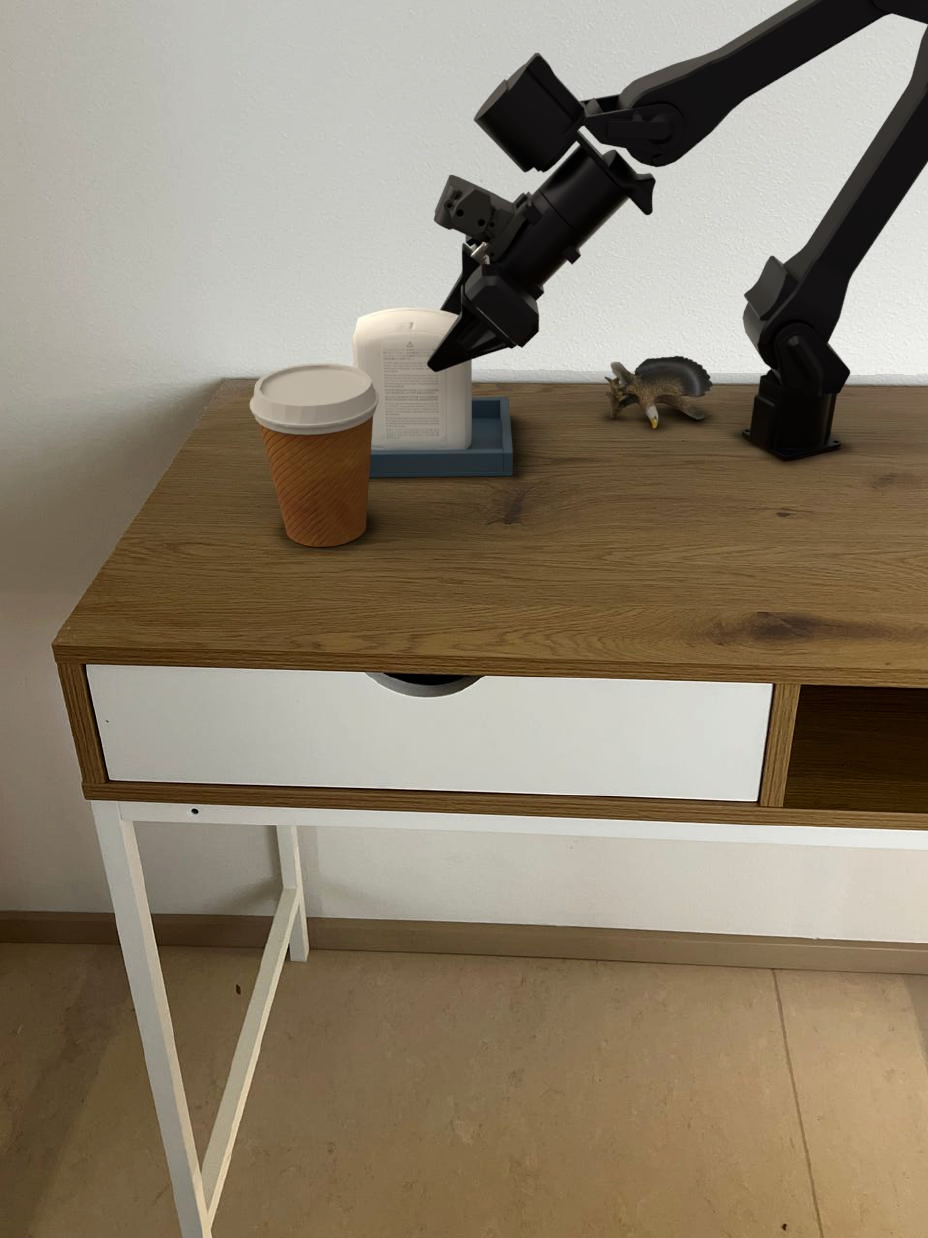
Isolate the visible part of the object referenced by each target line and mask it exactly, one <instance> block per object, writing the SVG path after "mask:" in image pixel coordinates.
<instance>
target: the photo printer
mask: <svg viewBox="0 0 928 1238" xmlns="http://www.w3.org/2000/svg"><path fill="white" fill-rule="evenodd" d="M458 316H459V315H456V314H453V313H450V312H446V311H441V310H440V309H436V308H429V307H412V306H410V307H409V306H408V307H407V306H406V307H393V308H388V309H383V310H378V311H375V312H374V311H373V312H371V313H368V314H364V315H362V316H360V317H358V318H357V321H356V325H355V330H354V333H353V336H352V342H351V343H352V344H351V345H352V361H353V367H354V368H357V369H360V370H362V371H364V372H365V373H367V374H368V375H369V376H370V378H371V381H372V384H373V387H374V389H375V390H376V391H377V393H378V394H379V402H378V405H377V407H376V411H375V413H374V415H373V429H372V443H371V450H372V451H379V450H460V449H468V448H469V447H470V445H471V429H472V397H473V396H472V395H473V394H472V392H473V390H472V389H473V388H472V386H473V383H472V381H473V377H472V376H473V369H472V368H473V367H472V366H473V364H472V362H473V361H472V360H473V359H472V360H469V361H466V362H464V363H461V364H458V365H455V366H453V367H450V368H447V369H445V370H442V371H439V372H434V371H433V370H431V369H430V368H429V367H428V366H427V361H428V360H429V358H430V357H431V355H432V354H433V352H434V351H435V349H436V348H437V346H438V345H439V343H440V342H441V341H442V339H443V338H444V336H445V335H446V333H447V332H448V330H449V329H450V328H451V326H452V325H453V323H454V322H455V320H456V319H457V318H458Z"/></svg>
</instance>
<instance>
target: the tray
mask: <svg viewBox="0 0 928 1238" xmlns="http://www.w3.org/2000/svg"><path fill="white" fill-rule="evenodd" d="M511 422H512V421H511V411H510V399H509V396H475V397H473V396H472V429H471V445H470V447H469V448H468V449H460V450H379V451H372V450H371V458H370V471H369V479H371V478H373V479H374V478H441V477H442V478H443V477H444V478H446V477H448V478H449V477H450V478H451V477H452V478H453V477H454V478H455V477H513V475H514V449H513V435H512V425H511V424H512V423H511Z"/></svg>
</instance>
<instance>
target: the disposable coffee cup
mask: <svg viewBox="0 0 928 1238" xmlns="http://www.w3.org/2000/svg"><path fill="white" fill-rule="evenodd" d="M378 402H379V394H378V393H377V391H376V390H375V389H374V387H373V384H372V381H371V378H370V376H369V375H368V374H367V373H365V372H364V371H362V370H360V369H357V368H354V366H350V365H345V364H339V363H327V362H325V363H324V362H323V363H321V362H320V363H317V362H316V363H305V364H297V365H292V366H286V367H282V368H280V369H276V370H273V371H271V372H269V373H266V374H265V375H263V376H261V377H260V378H259V379H258V380H257V381H256V382H255V384H254V389H253V396H252V397H251V398H250V401H249V409H250V411H251V413H252V415H253V416H254V418H255V420H256V422H258V424H259V429H260V432H261V436H262V440H263V445H264V448H265V453H266V456H267V460H268V461H267V462H268V463H269V468H270V473H271V475H272V480H273V483H274V488H275V491H276V496H277V500H278V504H279V507H280V512H281V516H282V519H283V523H284V528H285V533H286V535H287V536H288V538H289V539H290V540H292V541H293V542H295V543H298V544H300V545H304V546H309V547H317V548H324V547H336V546H339V545H340V546H341V545H345V544H347V543H351V542H352V541H354V540H356V539H358V538H359V537H361V536H362V535H363V533H365V531H366V528H367V516H368V515H367V514H368V502H369V501H368V498H369V487H370V486H369V485H370V478H369V471H370V458H371V443H372V429H373V415H374V413H375V411H376V407H377V405H378Z"/></svg>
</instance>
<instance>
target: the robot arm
mask: <svg viewBox="0 0 928 1238" xmlns="http://www.w3.org/2000/svg"><path fill="white" fill-rule="evenodd" d="M890 15H895V16H898V17H902V18H904V19H908V20H912V21H914V22H919V23H921V24H925V25H927V26H926V27H925V30H924V32H923V35H922V37H921V40H920V44H919V47H918V51H917V55H916V58H915V63H914V66H913V70H912V74H911V77H910V79H909V82H908V83H907V86H906V88H905V89H904V91H903V92H902V94H901V95H900V97H899V99H897V102H896V103H895V104H894V106H893V108H892V109H891V111H890V113H889V114H888V116H887V117H886V119H885V120H884V122H883V123H882V125H881V126H880V128H879V130H878V131H877V133H876V134H875V136H874V137H873V139H872V140H871V143H870V144H869V146H867V149H866V150H865V152H864V153H863V155H862V156H861V158H860V160H859V161H858V163H857V164H856V165H855V167H854V169H853V170H852V172H851V174H850V175H849V177H848V178H847V179H846V181H845V183H844V185H843V186H842V187H841V189H840V191H839V192H838V194H837V195H836V197H835V199H834V200H833V202H832V203H831V205H830V206H829V208H828V209H827V210H826V212H825V214H824V215H823V217H822V218H821V220H820V222H819V223H818V225H817V226H816V228H815V230H813V233H812V234H811V235H810V237H809V239H808V241H807V242H806V243H805V245H804V246H803V247H802V248H801V249H800V250H799V251H798V252H796V253H795V254H794V255H792V256H791V257H790V258H789V259H788V260H786V261H785V262H784V263H783V262H782V261H781V260H779V259H778V258H777V257H776V256H775V255H770V256H769V257H768V259H767V260H766V261H765V263H764V266H763V269H762V271H761V273H760V275H759V277H758V279H757V281H756V282H755V284H754V285H753V286H751V288H750V289H748V290H747V291H746V292H745V293H743V297H744V298H745V300H746V302H747V303H746V306H745V307H744V310H743V312H742V313H743V314H742V324H743V328H744V333H745V334H746V336H747V337H748V339H749V341H750V342H751V344H752V345H753V347H754V349H755V351H756V352H757V353H758V355H759V356H760V358H761V360H762V361H763V363H764V364H765V365H766V366H768V367H769V368H770V369H769V370H767V372H766V374H762V375H760V377H759V383H758V391H757V393H755V395H754V398H753V405H752V412H751V413H752V414H751V420H750V427H748V428H747V427H746V428H743V429H742V430H741V433H740V436H742V437H743V438H745V439H746V440H748V441H750V442H751V443H753V444H755V445H756V446H758V447H760V448H762V449H763V450H765V451H766V452H768V453H770V454H772V455H774V456H775V457H777V458H779V459H780V460H783V461H790V460H795V459H798V458H803V457H807V456H811V455H816V454H821V453H825V452H828V451H832V450H837V449H840V448H842V444H843V442H842V441H841V440H840V439H838V438H836V437H834V436H832V435H831V433H832V428H833V420H834V416H835V410H836V403H837V397H838V394H841V391H842V390H843V388H844V386H845V384H846V383H847V381H848V379H849V377H850V376H851V370H850V368H849V366H848V365H846V363H845V362H844V361H843V359H842V358H841V357H840V356H839V354H838V353H837V352H836V350H835V349H834V348H833V346H832V345H831V344H830V343H829V342H830V340H831V338H832V335H833V333H834V331H835V329H836V327H837V324H838V323H839V320H840V318H841V316H842V311H843V307H844V303H845V299H846V295H847V293H848V288H849V284H850V282H851V279H852V276H853V275H854V273H855V271H856V270H857V269H858V267H859V266H860V264H861V263H862V261H863V260H864V258H865V257H866V255H867V254H868V252H869V251H870V249H871V248H872V246H873V245H874V243H875V242H876V240H877V239H878V237H879V236H880V234H881V233H882V232H883V230H884V228H885V227H886V225H887V224H888V222H889V221H890V219H891V218H892V216H893V215H894V213H895V212H896V210H897V209H898V207H899V206H900V204H901V203H902V202H903V200H904V198H905V197H906V195H907V194H908V193H909V191H910V190H911V188H912V186H913V185H914V183H915V182H916V181H917V179H918V178H919V176H920V175H921V173H922V171H923V170H924V168H926V166H927V164H928V0H796V1H793V2H792V3H790V4H789V5H787V6H786V7H784V8H783V9H781V10H780V11H778V12H776V13H775V14H772V15H771V16H770V17H768V18H766V19H765V20H763V21H761V22H760V23H758V24H757V25H754V26H753V27H752V28H750V29H749V30H747V31H745V32H744V33H742V34H740V35H738V36H737V37H735V38H734V39H732V40H731V41H729V42H727V43H726V44H724V45H722V46H721V47H719V48H717V49H714V50H712V51H710V52H707V53H705V54H702V55H699V56H696V57H692V58H689V59H686V60H683V61H679V62H675V63H673V64H669V65H667V66H665V67H663V68H660V69H658V70H655V71H653V72H651V73H648V74H646V75H643V76H641V77H638V78H637V79H634V80H632V82H630V83H629V84H628V85H627V86H626V87H624V88H623V90H622V91H621V93H618V94H611V95H606V96H605V95H604V96H600V97H592V98H588V99H583V100H579V99H578V98H577V96H575V94H574V93H573V92H571V90H570V89H569V88H568V87H567V86H566V84H564V82H563V81H562V80H560V78H559V77H558V76H557V75H556V73H555V72H554V70H553V69H552V67H551V65H550V64H549V62H548V61H547V59H545V57H543V55H542V54H541V53H540V52H534V54H533V55H532V56H531V57H530V58H529V59H528V60H527V61H526V63H524V64H522V65H521V66H520V67H519V68H517V70H516V71H515V72H513V73H512V74H511V75H510V77H509V78H507V79H506V78H503V80H502V81H501V82H500V83H499V84H498V86H496V87H495V89H494V90H493V91H492V92H491V94H490V95H489V96H488V97H487V98H486V100H485V101H484V103H482V105H481V106H480V108H479V109H478V110H477V112H476V114H475V115H474V117H473V122H475V123H476V125H477V126H478V127H479V128H480V129H481V130H482V131H483V132H484V133H485V134H486V135H487V136H488V137H489V138H490V139H491V140H492V141H493V142H494V143H495V144H496V146H498V147H499V149H500V150H501V151H503V153H504V154H505V155H506V156H507V157H509V159H510V160H511V161H512V162H513V163H514V164H515V166H517V167H518V168H519V169H520V170H521V171H522V172H523V173H524V174H525V173H528V172H530V171H531V170H533V169H535V171H537V173H539V172H541V173H542V174H544V173H547V172H548V171H550V170H551V169H552V168H553V167H554V166H556V165H557V164H558V162H559V161H560V160H561V159H562V158H563V157H564V156H565V155H566V154H567V152H568V151H569V150H570V149H571V147H573V146H574V145H575V144H576V142H577V143H578V145H577V147H575V148H574V150H573V151H571V153H570V154H569V156H567V157H566V158H565V159H564V160H563V162H562V163H560V165H559V166H558V167H556V168H555V170H554V171H553V172H552V173H551V174H550V175H549V176H548V178H546V180H544V182H542V184H540V186H539V187H538V188H537V189H536V190H535V191H534V192H533V193H531V192H530V191H527V193H525V192H521V193H520V194H519V196H518V197H516V199H515V200H514V201H513V202H512V201H510V200H507V199H505V198H503V197H501V196H500V195H498V194H496V193H494V192H493V191H491V190H488V189H486V188H484V187H482V186H480V185H478V184H475V183H473V182H471V181H468V180H467V179H464V178H463V177H460V176H457V175H454V174H449V175H448V177H447V180H446V182H445V185H444V187H443V190H442V192H441V195H440V197H439V199H438V203H437V204H436V206H435V209H434V217H433V221H434V222H435V224H437V225H438V226H440V227H441V228H444V229H446V230H448V231H452V230H454V231H457V232H459V233H460V234H464V235H465V237H464V238H465V242H462V244H461V272H460V274H459V276H458V278H457V279H456V281H455V282H454V285H453V287H452V288H451V290H450V292H449V293H448V295H447V297H446V298H445V300H444V301H443V303H442V305H441V307H440V308H439V310H441V311H446V312H450V313H453V314H456V315H459V316H458V318H457V319H456V320H455V322H454V323H453V325H452V326H451V328H450V329H449V330H448V332H447V333H446V335H445V336H444V338H443V339H442V341H441V342H440V343H439V345H438V346H437V348H436V349H435V351H434V352H433V354H432V355H431V357H430V358H429V360H428V361H427V366H428V367H429V368H430V369H431V370H433V371H434V372H439V371H442V370H445V369H447V368H450V367H453V366H455V365H458V364H461V363H464V362H466V361H469V360H474V359H477V358H480V357H483V356H486V355H489V354H493V353H496V352H498V351H502V350H505V349H510V350H511V349H514V348H516V347H520V348H521V349H523V348H524V347H525V346H526V345H528V343H529V342H530V341H531V340H532V339H533V338H534V337H535V336H536V335H537V334H538V333H539V332H540V312H539V306H538V302H537V301H538V300H539V299H540V298H541V297H542V296H544V294H545V288H544V285H545V284H546V283H547V282H548V281H549V280H550V279H551V278H552V277H553V276H554V275H555V274H556V273H557V272H558V271H559V270H560V269H561V268H563V266H564V265H565V264H566V263H567V262H568V263H569V264H570V265H571V266H572V265H574V264H575V263H576V262H577V261H578V260H580V258H581V257H582V253H581V251H580V249H581V248H582V247H583V246H584V245H585V244H586V242H588V240H590V239H591V238H592V237H593V236H594V235H595V234H596V233H597V232H598V231H599V230H600V229H601V228H602V227H603V226H604V225H605V224H606V223H607V222H608V221H609V220H610V219H611V218H612V217H613V216H614V215H615V213H617V212H618V211H619V210H620V209H621V207H623V206H624V204H626V203H627V202H628V201H629V200H630V201H631V202H632V203H634V205H635V206H636V207H637V208H638V209H639V210H640V211H641V212H642V213H643V215H645V216H650V215H652V214H653V212H654V207H653V206H654V205H653V197H654V196H653V194H654V190H655V185H656V184H657V180H656V178H655V177H654V175H653V174H652V173H651V172H646V173H638V172H637V171H636V169H634V168H633V167H632V166H631V165H630V163H628V162H627V160H626V159H625V158H624V157H623V156H622V155H621V154H620V152H618V150H616V149H610V150H608V151H605V153H603V154H602V153H601V151H599V149H597V147H595V145H594V144H593V143H592V142H591V141H590V140H589V139H588V138H587V137H586V136H585V135H584V134H583V133H582V132H581V130H580V129H581V128H582V127H584V128H585V129H586V130H587V131H588V132H589V133H590V134H591V135H592V136H593V137H594V138H595V140H596V141H597V142H598V144H601V145H605V146H610V147H615V148H620V149H626V151H627V152H628V155H630V157H631V158H632V159H634V160H635V161H636V162H638V163H640V164H642V165H646V166H649V167H654V168H663V167H666V166H669V165H671V164H674V163H676V162H677V161H679V160H680V159H682V158H683V157H684V156H685V155H686V154H688V153H689V152H690V151H691V150H692V149H694V148H695V147H696V146H697V145H698V144H699V143H701V142H702V141H703V140H704V139H705V138H707V137H708V136H709V135H710V134H711V133H713V132H714V131H715V130H716V128H717V127H719V125H720V124H721V123H722V122H723V120H725V118H726V117H727V116H728V115H729V114H730V113H731V112H732V111H733V110H734V109H736V108H737V107H738V106H739V105H740V104H741V103H743V102H744V101H745V100H747V99H748V98H750V97H752V96H753V95H755V94H756V93H759V91H762V90H763V89H764V88H767V87H769V86H770V85H771V84H773V83H775V82H776V81H779V80H780V79H782V78H783V77H785V76H786V75H788V74H790V73H791V72H793V71H795V70H797V69H798V68H800V67H802V66H803V65H804V64H807V63H808V62H810V61H811V60H813V59H816V57H818V56H820V55H821V54H823V53H825V52H827V51H828V50H831V49H832V48H834V47H835V46H837V45H839V44H840V43H842V42H844V41H845V40H847V39H848V38H851V37H852V36H853V35H856V34H857V33H858V32H860V31H862V30H864V29H865V28H867V27H868V26H871V25H872V24H874V23H875V22H877V21H879V20H880V19H882V18H883V17H886V16H890Z"/></svg>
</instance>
